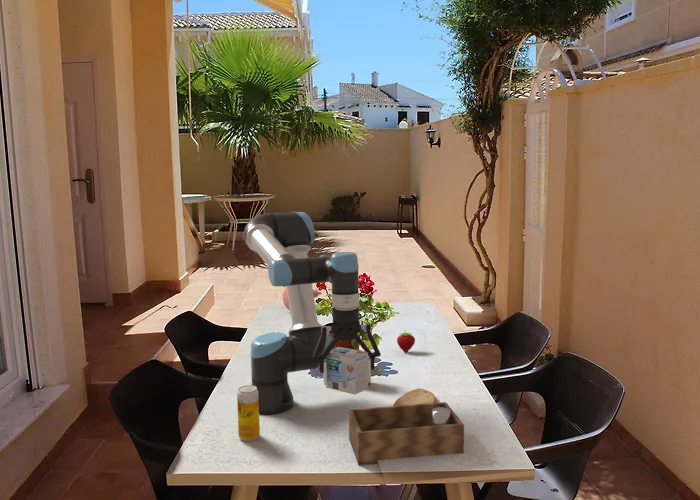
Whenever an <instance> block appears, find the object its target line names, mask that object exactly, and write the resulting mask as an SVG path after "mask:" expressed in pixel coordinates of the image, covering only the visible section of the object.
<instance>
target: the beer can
mask: <svg viewBox="0 0 700 500" xmlns="http://www.w3.org/2000/svg"><path fill="white" fill-rule="evenodd" d="M236 397H237V398H236V401H237V421H238V422H237V427H238V428H237V430H238V438H240V440H241V441H243V442H254V441H256V440H257V439H258V438H259V436H260V413H259V397H258V390H257V387H256V386H252V384H248V385H247V384H246V385H242V386H240V387H238V389H237V392H236Z"/></svg>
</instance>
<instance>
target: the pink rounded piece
mask: <svg viewBox="0 0 700 500" xmlns="http://www.w3.org/2000/svg"><path fill="white" fill-rule="evenodd" d="M313 295H314V299H315V298H317V297H319V295H322V292H321V291H318V289H313ZM282 301H283V305H284V306H285V308H286V309H287V310H289V311H290V306H289V299H288V292H287V287H286V288H285V289H284V292H283V294H282Z"/></svg>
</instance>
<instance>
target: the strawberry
mask: <svg viewBox="0 0 700 500" xmlns="http://www.w3.org/2000/svg"><path fill="white" fill-rule="evenodd" d="M412 334H413V333H412V332H410V333H409V332H406V331H403V332H402V333H400V334H399V335H398V336H397V338H396V341H397V345H398V347H399V349H400V350H402V351H403V353H408V352H409V351H410V350H411V349H412V348H413V346H414V345H415V342H416V339H415V336H414V335H412Z"/></svg>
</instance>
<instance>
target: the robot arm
mask: <svg viewBox="0 0 700 500" xmlns="http://www.w3.org/2000/svg"><path fill="white" fill-rule="evenodd" d="M315 233H316V232H315V227H314V223H313V221H312V219H311V217H310V216H309V214H307V213H306V212H305V211H304V212H303V211H289V212H288V211H286V212H271V213H269V212H267V213H266V212H265V213H261V214H258V215H256V216H254V217H253V218H251V219H250V220H249V221H248V222H247V223H246V225H245V227H244V230H243V239H244V243H245V245H246V246H247V247H248V248H249V249H250V250H251V251H253V252H255V253H257V254H258V255H259V257H260V258H261V259H262V260H263V262H264V263H265V264H266V265H267V266H268V269H267V270H268V271H267V272H268V279H269V282H270V285H272V286H274V287H283V288H284V287H286V288H287V292H288V299H289V306H290V310H289V312H290V313H289V314H290V318H291V327H290V329H289V330H288V336H287V334H285V333H284V332H282V331H281V332H280V331H279V332H274V331H273V332H267V333H264V334H260V335H258V336H256V337H254V339H253V340H252V341H251V343H250V353H249V355H250V370H251V385H252V386H256V387H257V390H258V397H259V415H260V414H261V415H273V414H279V413H284V412H286V411H288V410H290V409H291V408H293V406H294V403H295V402H294V396H293V392H292V389H291V387H290V384H289V379H288V373H294V372H301V371H308V370H316V369H319V373H320V374H322V375H323V376H322V377H323V384H324V386H326V385H327V362H326V357H327V356H328V354H329V353H330V351H331V350H332V349H334V348H335V346H336V345H337V343H338V342H339V341H341V342H345V341H353V340H355V341H356V342H357V343H358V345H359V346H360V347H361V348H362V349H363V350H362V351H364V352H368V356H369V357H368V382H372V371H373V370H374V369H375V359H376V358H377V357H379V358H380V357H381V354H382V353H381V352H380V350H379V347H378V345H377V343H376V341H375V339H374V336H373V334H372V328H371V327H372V325H370V323H369V322H366V323H364V324H363V323H362V324H360V309H359V305H360V299H359V295H360V294H359V267H360V266H359V258H358V254H357V253H355V252H349V251H341V252H340V251H339V252H334V253H332V254H322V255H320V256H316V257H315V256H314V257H313V256H311V257H309V256H308V253H309V251H310V250H311V248H312V247H311V245H312V244H313V243H315V242H314V241H315V239H316V238H315ZM319 283H331V306H332V307H333V308H332V309H331V310H332V312H331V313H332V315H331V316H332V317H331V318H332V323H331V326H330V325H329V326H326V325H324V324H323V325H322V324H321V323H320V322H318V318H317V317H318V316H317V310H316V302H315V298H314V295H313V290H314V289H313V284H319ZM361 330H363V332H364V333H366V336H367V338H368V340H369V343H370V344H371V347H372V349H373V352H372V350H370V348H369V347H368V346H367V345H366V343H365V342H364V341H363V339H361V337H360V335H359V333H360V331H361ZM330 332H332V333H333V336H332V337H331V334H330Z"/></svg>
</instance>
